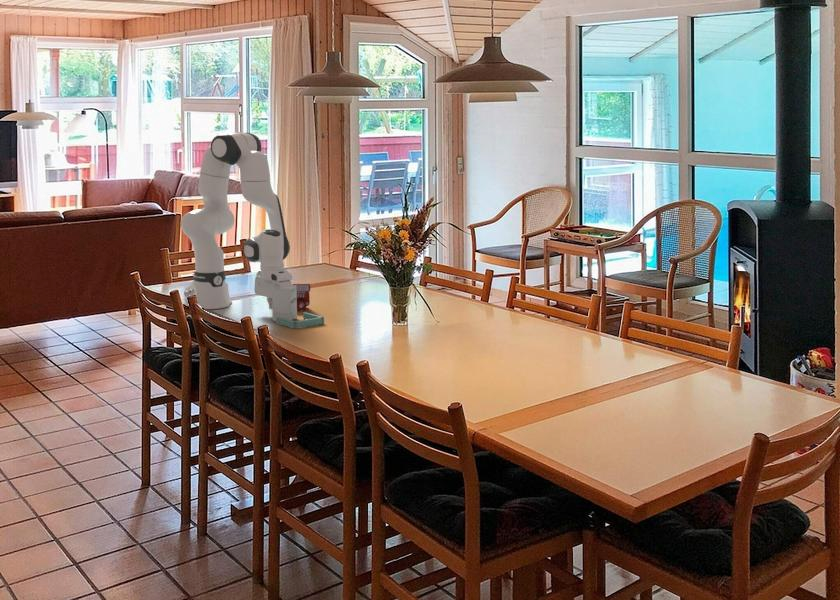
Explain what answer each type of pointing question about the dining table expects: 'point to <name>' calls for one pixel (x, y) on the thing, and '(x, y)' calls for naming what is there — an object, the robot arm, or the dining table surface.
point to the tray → (302, 321)
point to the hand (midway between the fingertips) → (273, 309)
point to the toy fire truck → (302, 296)
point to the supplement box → (284, 302)
